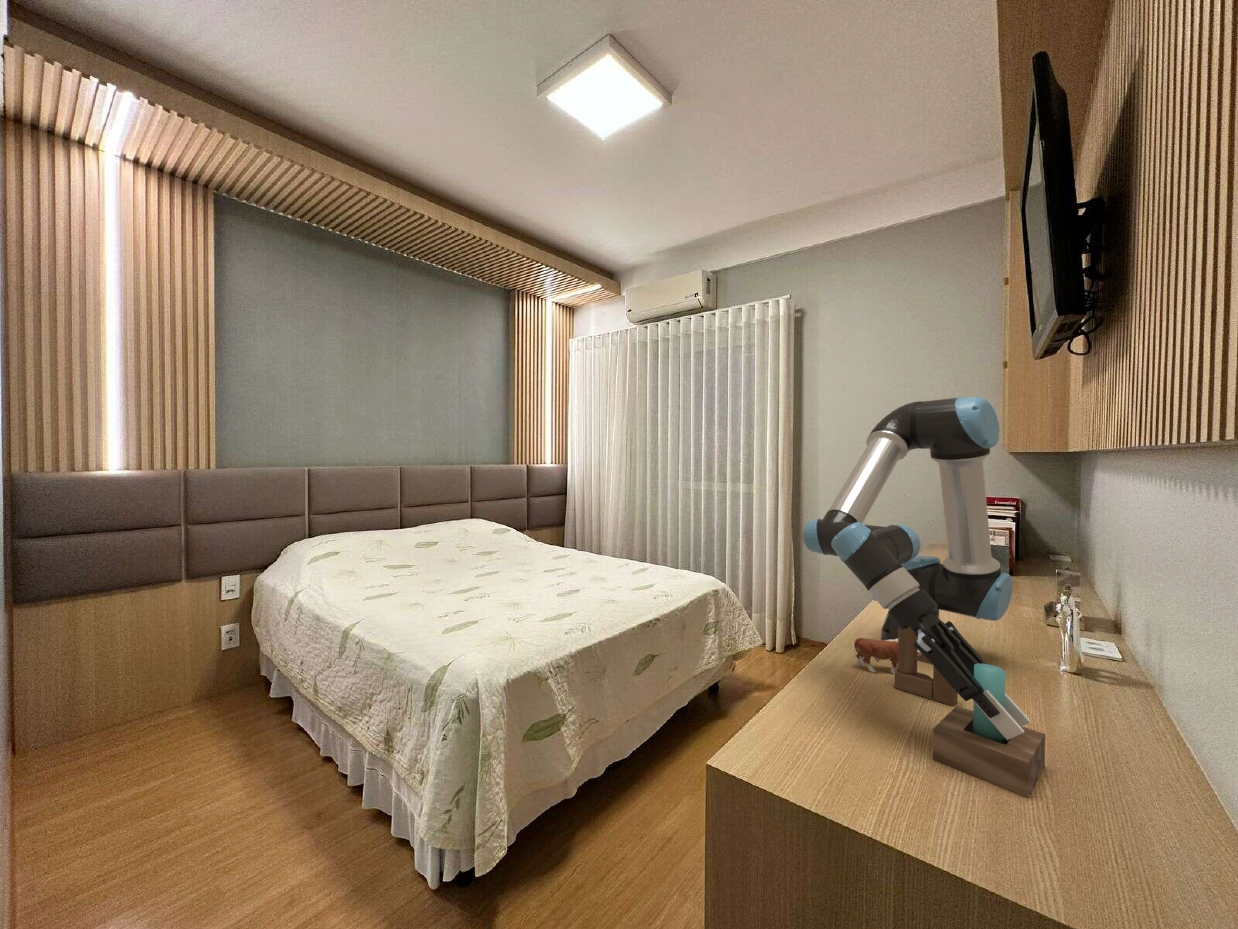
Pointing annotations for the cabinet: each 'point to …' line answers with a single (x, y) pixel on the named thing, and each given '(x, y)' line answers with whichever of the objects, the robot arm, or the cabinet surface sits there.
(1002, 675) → the peg
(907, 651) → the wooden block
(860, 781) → the cabinet surface
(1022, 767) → the socket block
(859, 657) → the bull figurine
